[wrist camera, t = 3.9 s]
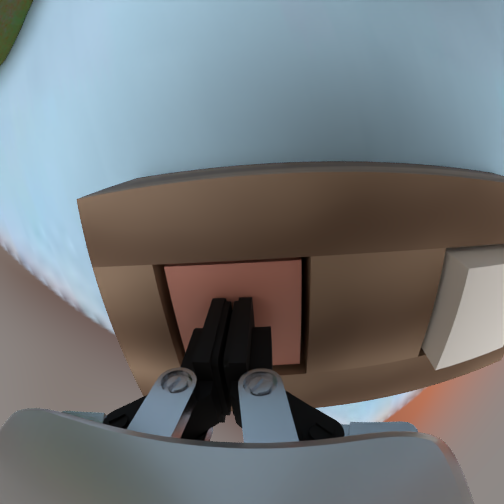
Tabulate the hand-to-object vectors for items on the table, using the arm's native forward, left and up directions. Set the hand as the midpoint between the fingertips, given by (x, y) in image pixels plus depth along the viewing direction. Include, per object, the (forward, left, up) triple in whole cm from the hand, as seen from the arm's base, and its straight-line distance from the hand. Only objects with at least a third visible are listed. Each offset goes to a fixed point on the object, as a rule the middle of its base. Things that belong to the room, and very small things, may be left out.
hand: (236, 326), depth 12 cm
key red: (0, 0, -4) cm, 5 cm away
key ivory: (0, +12, -3) cm, 12 cm away
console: (0, +6, -6) cm, 8 cm away
